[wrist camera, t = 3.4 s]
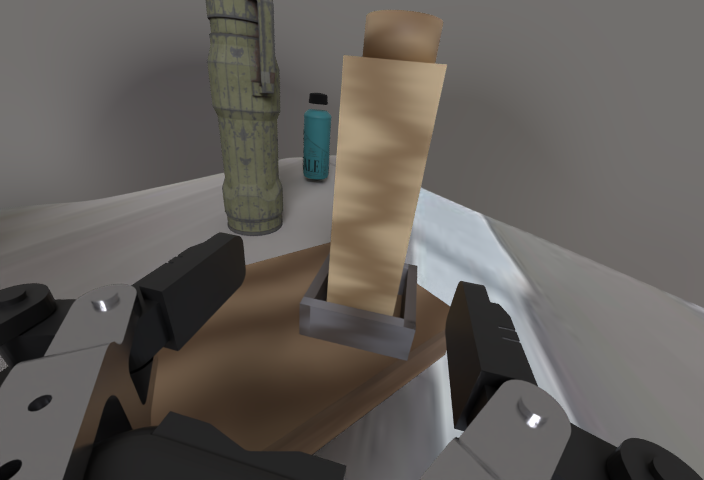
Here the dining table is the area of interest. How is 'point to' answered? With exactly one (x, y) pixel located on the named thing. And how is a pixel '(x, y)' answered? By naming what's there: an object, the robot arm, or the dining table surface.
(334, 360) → the board with square socket
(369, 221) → the wooden square peg
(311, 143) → the beverage bottle
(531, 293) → the dining table surface
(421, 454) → the dining table surface
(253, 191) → the thermos
